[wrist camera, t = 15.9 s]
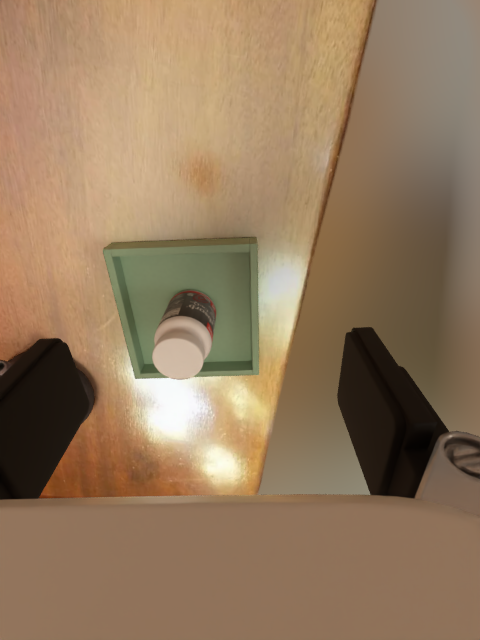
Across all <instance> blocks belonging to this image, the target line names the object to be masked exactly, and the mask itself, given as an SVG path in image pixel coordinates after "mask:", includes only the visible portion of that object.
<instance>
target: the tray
mask: <svg viewBox="0 0 480 640" xmlns="http://www.w3.org/2000/svg"><path fill="white" fill-rule="evenodd" d="M103 253H104V257H105V261H106V265H107V269H108V273H109V277H110V281H111V285H112V289H113V293H114V297H115V301H116V304H117V308H118V312H119V316H120V320H121V324H122V328H123V332H124V336H125V340H126V344H127V348H128V352H129V355H130V359H131V363H132V367H133V371H134V375H135V379H141V378H142V379H143V378H169V377H167V376H165V375H163V374H162V373H160V372H159V371H158V370H157V368H156V367H155V365H154V363H153V359H152V353H153V350H154V347H155V343H154V337H155V333H156V330H157V328H158V325H159V323H160V321H161V319H162V317H163V315H164V313H165V310H166V308H167V306H168V304H169V302H170V300H171V299H172V298H173V297H174V296H175V295H176V294H178V293H180V292H182V291H186V290H195V291H199V292H202V293H204V294H205V295H207V296H208V297H209V298H210V299H211V300H212V302H213V303H214V305H215V308H216V321H215V327H214V333H213V341H212V347H211V350H210V352H209V354H208V356H207V357H206V358H205V359H204V362H203V366H202V368H201V370H200V371H199V372H198V373H197V374H196V375H195V376H193V377H207V376H239V375H259V327H258V244H257V238H256V237H247V238H221V239H196V240H170V241H144V242H118V243H111V244H109V245H108V246H107V247H105V248H104V249H103Z"/></svg>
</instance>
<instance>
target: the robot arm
mask: <svg viewBox="0 0 480 640" xmlns="http://www.w3.org/2000/svg"><path fill="white" fill-rule="evenodd" d="M338 404H339V407H340V410H341V413H342V416H343V418H344V421H345V424H346V427H347V430H348V432H349V435H350V438H351V441H352V444H353V446H354V449H355V452H356V455H357V457H358V460H359V463H360V466H361V469H362V472H363V474H364V477H365V480H366V483H367V485H368V488H369V491H370V494H371V495H318V494H313V495H312V494H308V495H307V494H304V495H303V494H293V495H207V496H147V497H92V498H49V499H38V498H39V496H40V494H41V493H42V491H43V489H44V488H45V486H46V484H47V482H48V481H49V479H50V477H51V475H52V474H53V472H54V470H55V468H56V467H57V465H58V463H59V461H60V460H61V458H62V456H63V455H64V453H65V451H66V449H67V448H68V446H69V444H70V442H71V441H72V439H73V437H74V435H75V434H76V432H77V430H78V429H79V427H80V425H81V423H82V422H83V420H84V418H85V416H86V415H87V413H88V411H89V407H90V403H89V399H88V397H87V394H86V391H85V389H84V386H83V384H82V381H81V378H80V376H79V373H78V371H77V368H76V365H75V363H74V360H73V358H72V355H71V352H70V350H69V347H68V345H67V344H66V343H64V342H63V341H62V340H61V339H58V338H53V339H40V340H38V341H37V342H36V343H35V344H34V345H33V346H32V347H31V348H30V349H29V350H28V351H27V352H25V353H24V354H23V355H22V356H21V357H20V358H19V359H18V360H17V361H16V362H15V363H14V364H13V365H12V366H11V367H10V368H9V369H8V370H7V371H6V372H5V373H4V374H3V375H2V376H1V377H0V640H480V437H479V436H476V435H473V434H470V433H467V432H459V431H452V432H449V431H448V429H447V428H446V426H445V425H444V423H443V422H442V421H441V419H440V418H439V416H438V415H437V413H436V412H435V411H434V409H433V408H432V406H431V405H430V404H429V402H428V401H427V399H426V398H425V397H424V395H423V394H422V392H421V391H420V389H419V388H418V387H417V385H416V384H415V382H414V381H413V379H412V378H411V377H410V375H409V374H408V372H407V371H406V370H405V369H404V368H403V367H401V366H398V364H397V363H396V362H395V360H394V359H393V357H392V356H391V355H390V353H389V351H388V350H387V349H386V347H385V346H384V344H383V343H382V341H381V340H380V338H379V337H378V335H377V334H376V333H375V331H374V329H373V328H371V327H364V328H353V329H352V331H351V332H348V333H346V337H345V344H344V351H343V358H342V366H341V373H340V380H339V387H338Z"/></svg>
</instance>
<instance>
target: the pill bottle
mask: <svg viewBox="0 0 480 640" xmlns="http://www.w3.org/2000/svg"><path fill="white" fill-rule="evenodd" d="M215 321H216V308H215V305H214V303H213V302H212V300H211V299H210V298H209V297H208V296H207V295H205V294H204V293H202V292H199V291H195V290H186V291H182V292H180V293H178V294H176V295H175V296H174V297H173V298H172V299H171V300H170V302H169V304H168V306H167V308H166V310H165V313H164V315H163V317H162V319H161V321H160V323H159V325H158V328H157V330H156V333H155V337H154V343H155V347H154V350H153V353H152V359H153V363H154V365H155V367H156V368H157V370H158V371H159V372H160V373H162V374H163V375H165V376H167V377H169V378H172V379H178V380H182V379H188V378H191V377H193V376H195V375H196V374H197V373H198V372H199V371H200V370H201V368H202V366H203V362H204V359H205V358H206V357H207V356H208V354H209V352H210V350H211V347H212V341H213V333H214V327H215Z"/></svg>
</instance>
